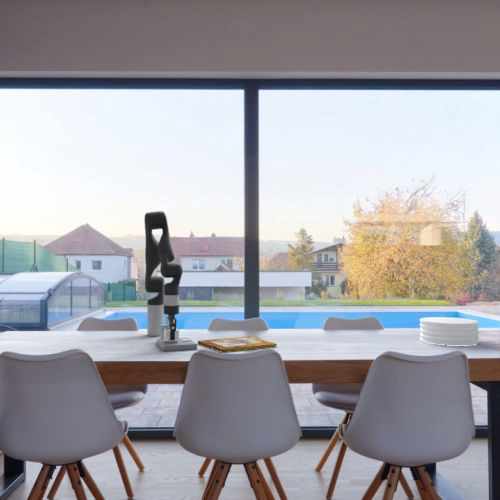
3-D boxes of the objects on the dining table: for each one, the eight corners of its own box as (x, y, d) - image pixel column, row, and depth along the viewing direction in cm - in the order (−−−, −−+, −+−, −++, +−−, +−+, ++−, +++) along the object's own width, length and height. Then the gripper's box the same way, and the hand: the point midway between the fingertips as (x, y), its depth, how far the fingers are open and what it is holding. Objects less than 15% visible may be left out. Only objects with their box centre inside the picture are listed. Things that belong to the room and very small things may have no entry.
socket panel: (156, 344, 235) (156, 337, 235) (188, 342, 241) (188, 336, 241) (163, 351, 216) (163, 344, 216) (197, 349, 222) (197, 342, 222)
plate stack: (425, 336, 262) (425, 316, 262) (480, 340, 248) (480, 319, 248) (415, 343, 238) (414, 321, 238) (476, 349, 224) (475, 325, 224)
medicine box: (160, 342, 241) (160, 325, 241) (160, 341, 245) (160, 324, 245) (176, 341, 243) (176, 325, 243) (175, 340, 247) (175, 324, 248)
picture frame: (197, 340, 237) (249, 336, 252) (197, 345, 237) (249, 340, 252) (221, 349, 214) (276, 343, 228) (221, 354, 214) (276, 348, 228)
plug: (163, 343, 229) (163, 329, 229) (176, 342, 231) (176, 328, 232) (165, 345, 224) (165, 330, 224) (178, 344, 226) (178, 330, 226)
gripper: (161, 303, 234) (161, 337, 233) (166, 305, 220) (166, 341, 220) (176, 302, 236) (176, 336, 236) (182, 305, 223) (181, 341, 222)
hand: (171, 338), depth 228 cm, fingers closed on plug, 5 cm apart
